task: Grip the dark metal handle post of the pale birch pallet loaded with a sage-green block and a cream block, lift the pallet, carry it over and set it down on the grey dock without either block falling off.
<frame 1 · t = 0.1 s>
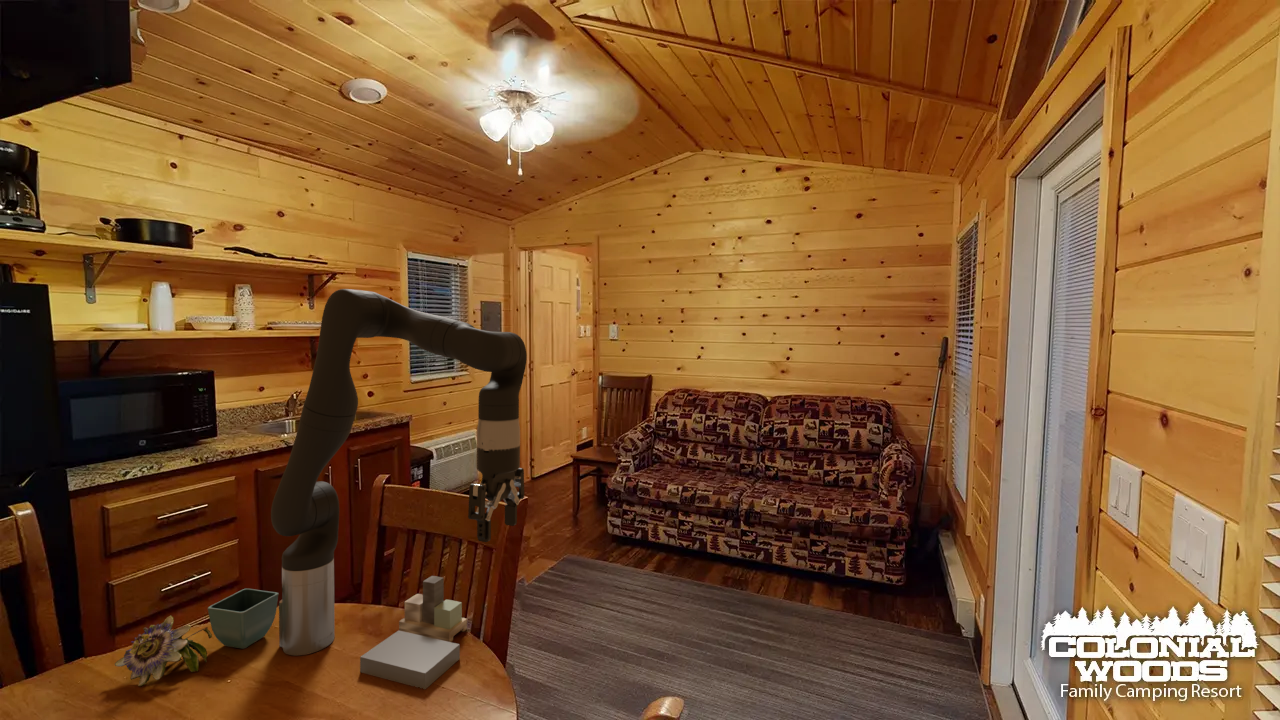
hand: (497, 532, 99), 29 cm above the table, tool pointing down, fingers open, 8 cm apart
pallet: (433, 631, 120), on the table, touching cream block, green block
passion flower: (166, 672, 104), on the table
cream block: (418, 616, 121), point 2 cm above the table, touching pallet
green block: (448, 623, 118), point 2 cm above the table, touching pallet
dock: (411, 665, 107), on the table
flower pot: (244, 642, 114), on the table
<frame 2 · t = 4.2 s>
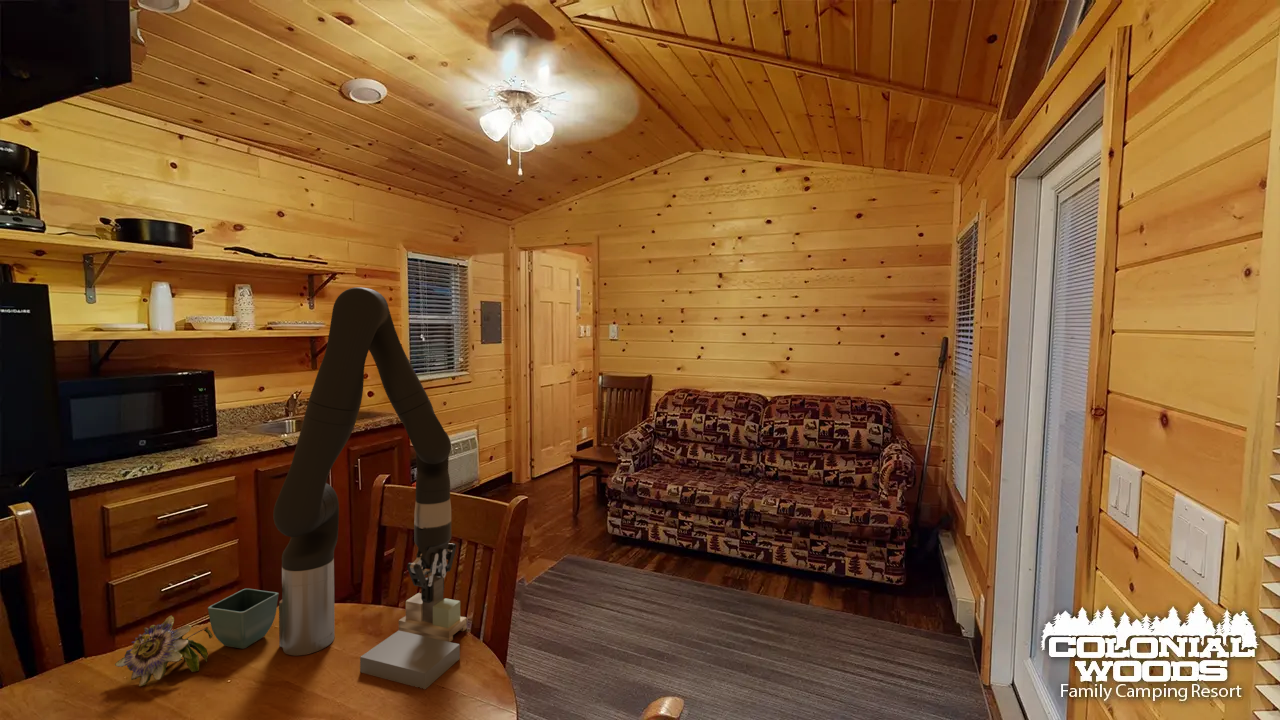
hand: (432, 597, 119), 7 cm above the table, tool pointing down, fingers closed on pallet, 3 cm apart
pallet: (432, 630, 120), on the table, touching cream block, green block, gripper
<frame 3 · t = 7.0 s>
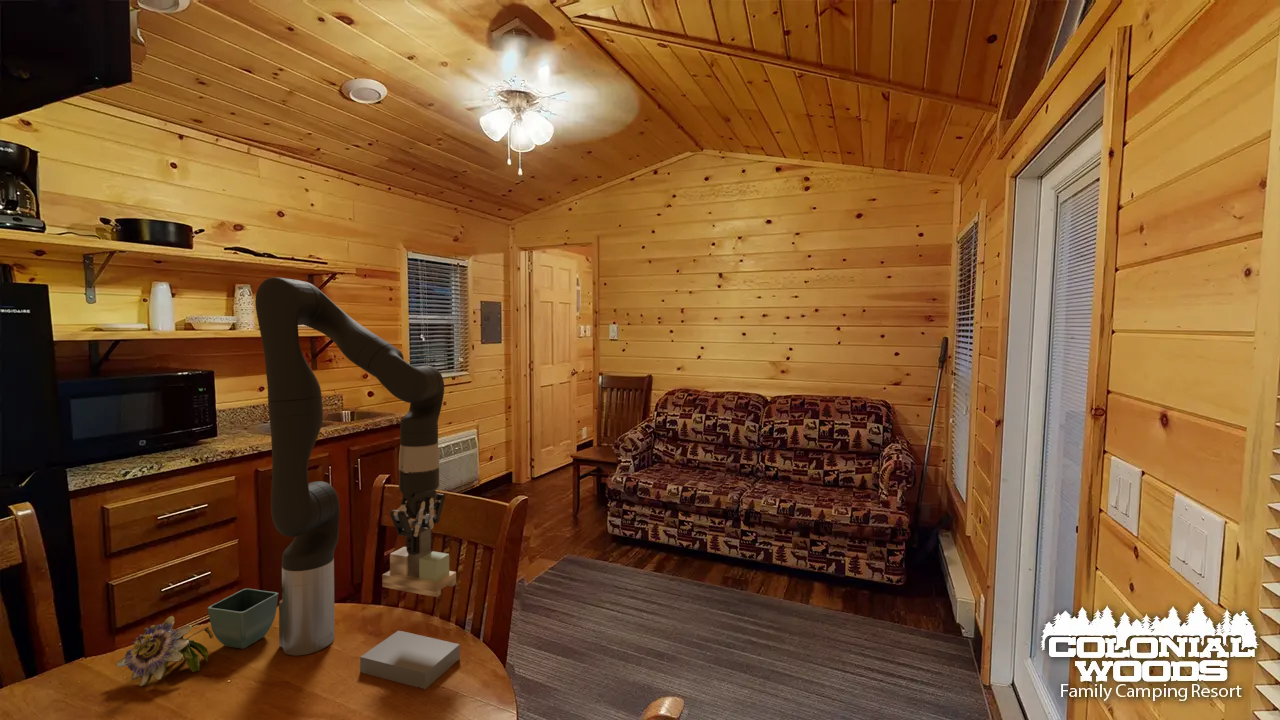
hand: (419, 550, 110), 21 cm above the table, tool pointing down, fingers closed on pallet, 3 cm apart
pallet: (419, 585, 111), point 14 cm above the table, touching cream block, green block, gripper
cream block: (405, 570, 112), point 16 cm above the table, touching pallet
green block: (434, 575, 110), point 16 cm above the table, touching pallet
everything else where it was.
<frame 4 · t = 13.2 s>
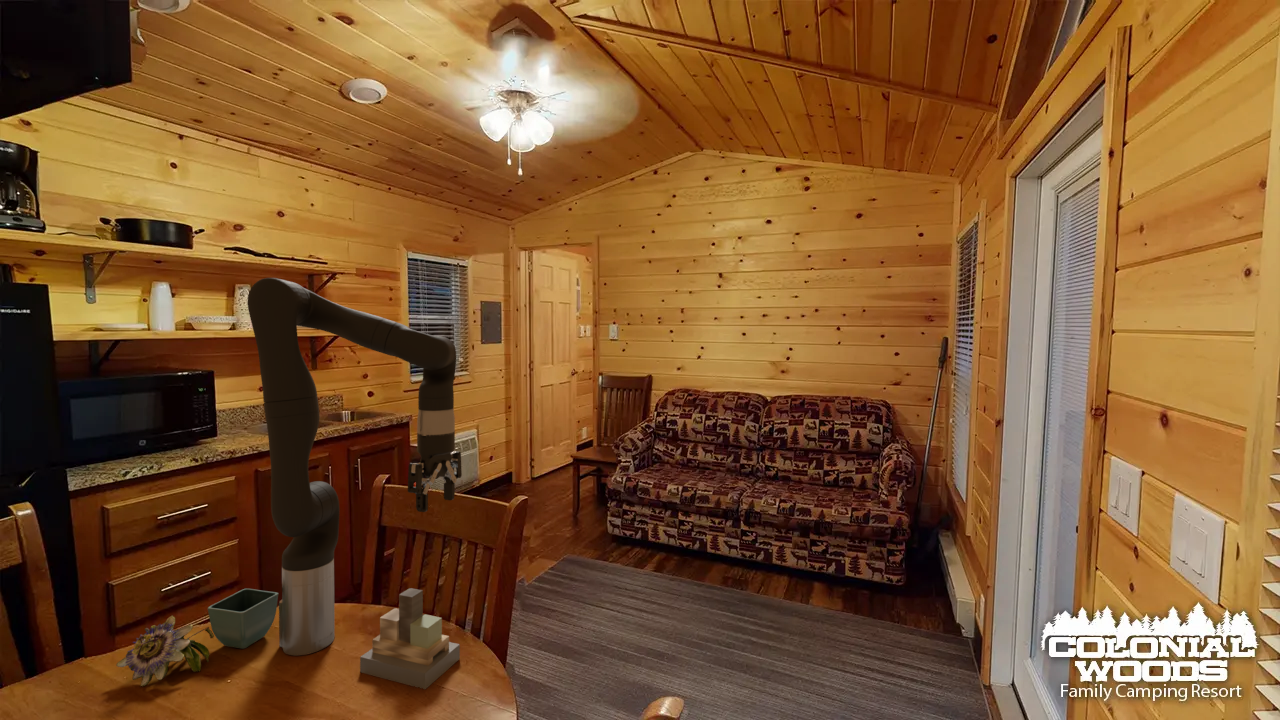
hand: (436, 505, 117), 28 cm above the table, tool pointing down, fingers open, 8 cm apart
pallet: (411, 650, 107), point 3 cm above the table, touching cream block, dock, green block
cream block: (395, 634, 108), point 5 cm above the table, touching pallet
green block: (426, 641, 106), point 5 cm above the table, touching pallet
everything else where it was.
at the end: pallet 0.0 cm off-centre on the dock, point 3.0 cm above the dock's base; green block point 5.5 cm above the table; cream block point 5.5 cm above the table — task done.
